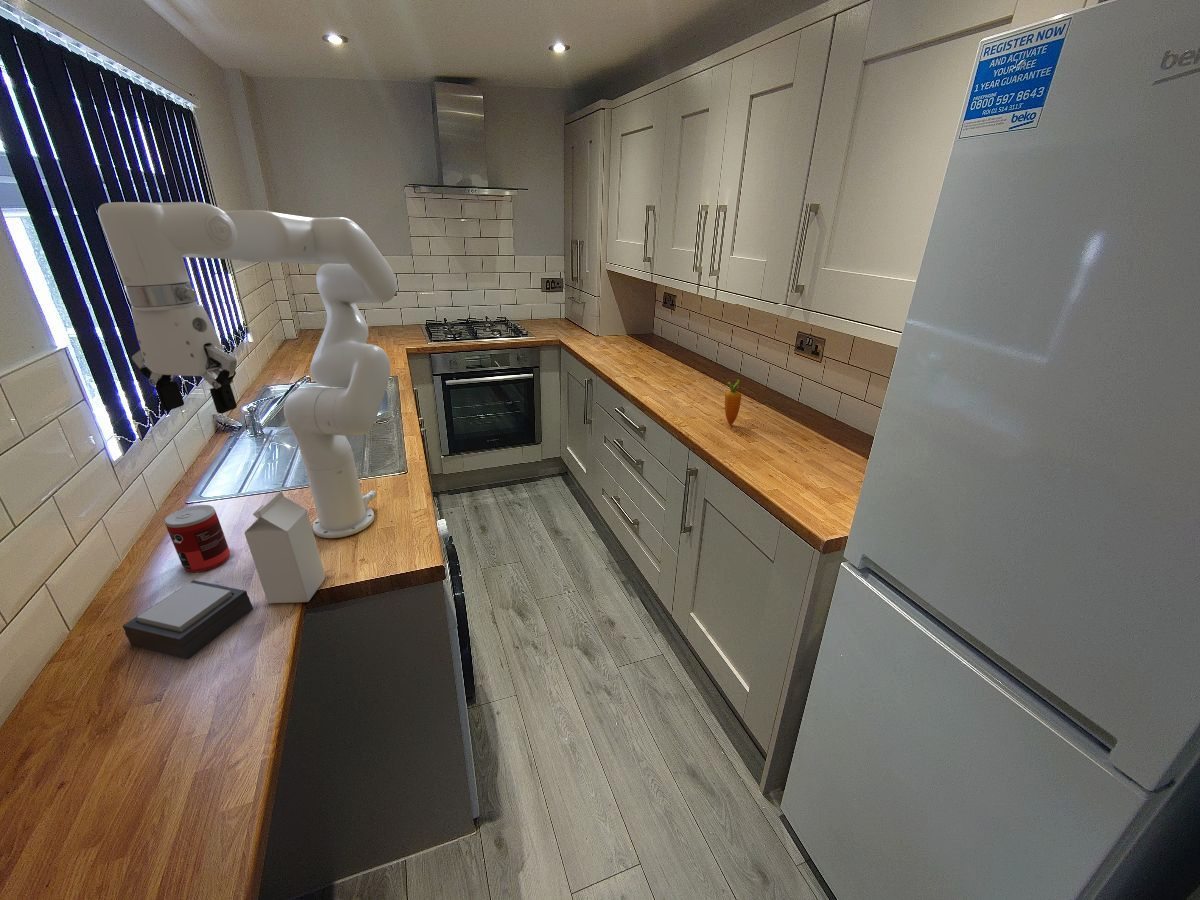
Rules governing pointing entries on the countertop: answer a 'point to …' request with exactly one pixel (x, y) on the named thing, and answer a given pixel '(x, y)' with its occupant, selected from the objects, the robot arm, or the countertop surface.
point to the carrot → (732, 403)
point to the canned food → (198, 538)
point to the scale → (196, 633)
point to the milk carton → (285, 551)
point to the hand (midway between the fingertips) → (200, 409)
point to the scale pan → (184, 607)
